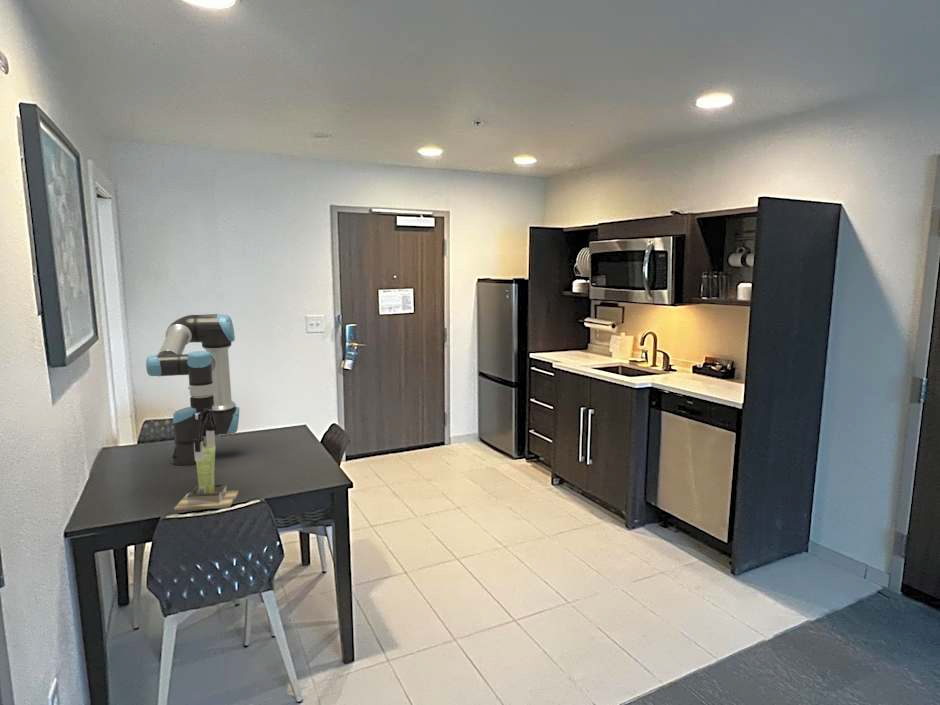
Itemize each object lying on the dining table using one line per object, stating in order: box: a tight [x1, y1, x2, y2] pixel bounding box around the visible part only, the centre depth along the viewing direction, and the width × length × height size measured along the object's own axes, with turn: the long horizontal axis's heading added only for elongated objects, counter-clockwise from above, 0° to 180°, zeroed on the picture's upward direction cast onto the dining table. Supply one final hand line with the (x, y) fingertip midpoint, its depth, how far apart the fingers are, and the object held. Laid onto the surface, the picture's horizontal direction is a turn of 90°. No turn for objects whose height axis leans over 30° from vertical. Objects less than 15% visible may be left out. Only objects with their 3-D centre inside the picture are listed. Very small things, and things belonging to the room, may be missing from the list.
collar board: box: [173, 483, 240, 511], centre depth 208 cm, size 14×18×4 cm
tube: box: [195, 445, 217, 494], centre depth 207 cm, size 6×5×20 cm
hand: (205, 454), depth 206 cm, fingers open, 13 cm apart
